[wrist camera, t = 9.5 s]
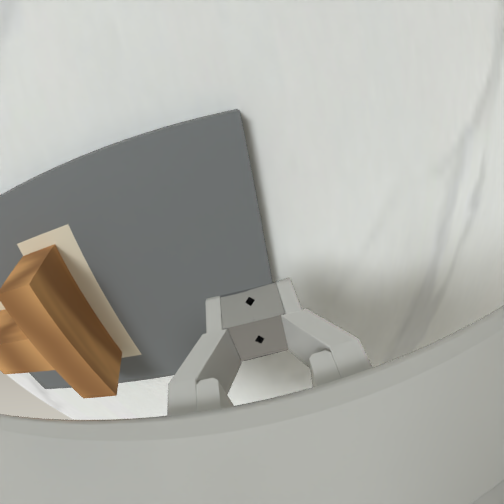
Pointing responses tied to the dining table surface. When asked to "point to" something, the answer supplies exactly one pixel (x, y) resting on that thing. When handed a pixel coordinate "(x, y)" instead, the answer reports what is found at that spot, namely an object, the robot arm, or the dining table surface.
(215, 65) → the dining table surface
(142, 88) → the dining table surface
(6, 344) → the t block
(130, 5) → the dining table surface
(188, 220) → the push board
